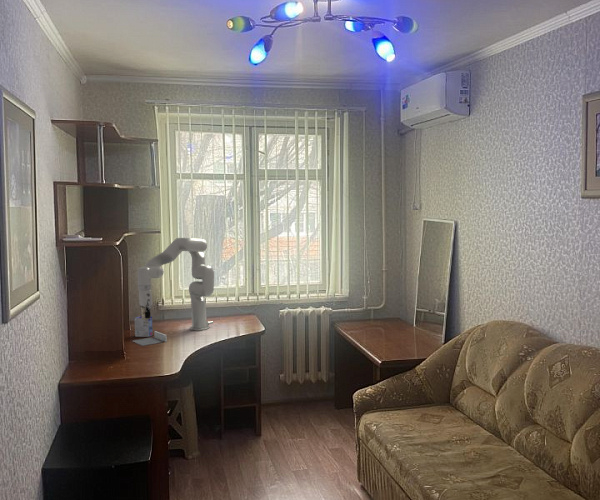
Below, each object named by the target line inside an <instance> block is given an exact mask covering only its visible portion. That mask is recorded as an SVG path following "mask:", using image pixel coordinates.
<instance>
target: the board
mask: <svg viewBox="0 0 600 500" xmlns="http://www.w3.org/2000/svg"><path fill="white" fill-rule="evenodd" d="M131 342H133V343H134V342H135V344H137V345H139V346H141V347H145V346H150V345H154V344H155V345H156V344H162V343H163V341H162V340H159V339H157V338H154V337H152V336H150V337H145V338H139V339H134V340H131Z"/></svg>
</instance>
